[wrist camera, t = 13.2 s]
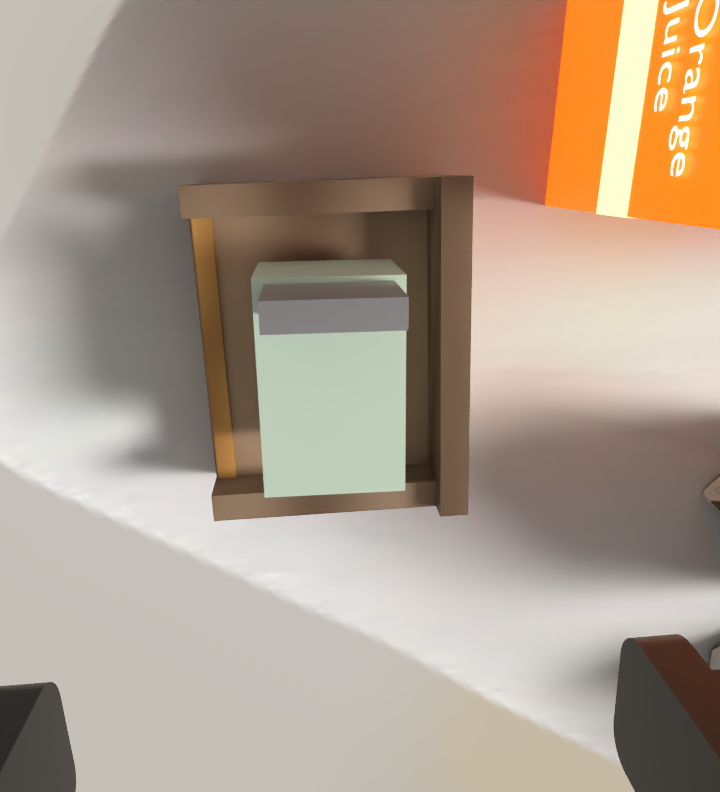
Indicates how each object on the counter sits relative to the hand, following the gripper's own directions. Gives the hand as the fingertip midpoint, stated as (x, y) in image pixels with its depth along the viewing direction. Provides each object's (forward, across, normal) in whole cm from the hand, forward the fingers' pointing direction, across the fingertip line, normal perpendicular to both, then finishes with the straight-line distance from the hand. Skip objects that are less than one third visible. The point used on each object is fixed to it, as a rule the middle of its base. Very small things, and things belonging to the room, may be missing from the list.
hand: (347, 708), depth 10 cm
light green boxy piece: (+22, 0, 0) cm, 22 cm away
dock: (+24, 0, 0) cm, 25 cm away
